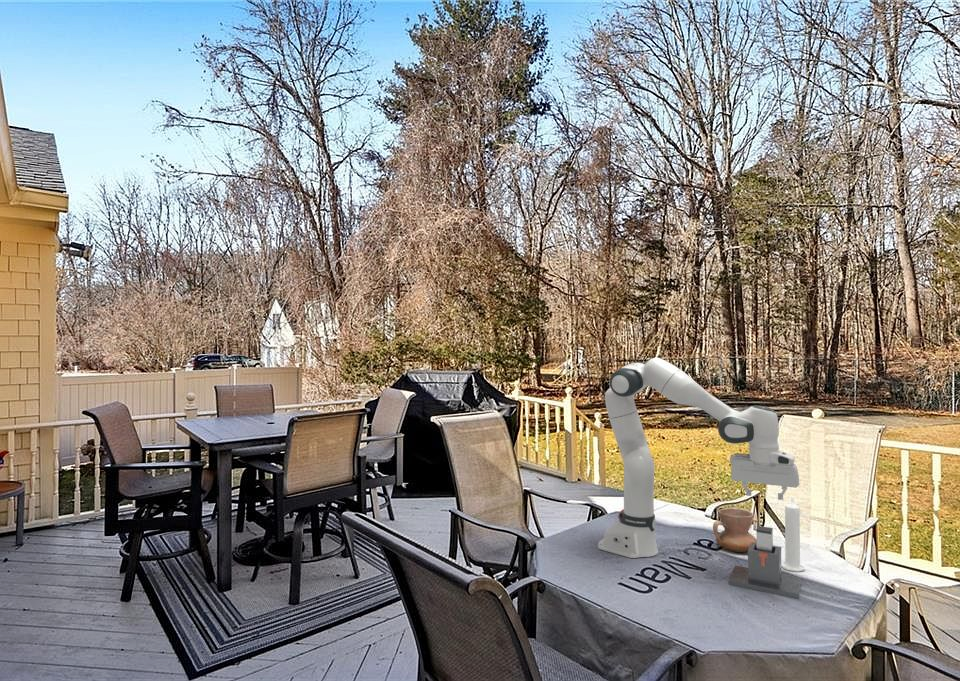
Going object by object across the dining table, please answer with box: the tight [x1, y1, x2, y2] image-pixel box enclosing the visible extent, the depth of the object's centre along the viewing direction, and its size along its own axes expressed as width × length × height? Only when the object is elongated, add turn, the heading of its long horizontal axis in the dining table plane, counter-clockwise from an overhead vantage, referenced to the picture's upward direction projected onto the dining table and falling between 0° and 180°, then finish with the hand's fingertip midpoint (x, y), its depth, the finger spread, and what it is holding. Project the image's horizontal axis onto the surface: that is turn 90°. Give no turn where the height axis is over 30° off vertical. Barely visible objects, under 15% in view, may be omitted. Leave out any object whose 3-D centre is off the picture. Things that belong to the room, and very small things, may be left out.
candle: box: [781, 496, 805, 573], centre depth 199 cm, size 7×7×25 cm
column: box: [755, 525, 774, 553], centre depth 187 cm, size 5×5×16 cm
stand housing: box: [728, 542, 802, 599], centre depth 187 cm, size 20×14×12 cm
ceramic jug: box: [712, 507, 758, 553], centre depth 218 cm, size 18×14×14 cm
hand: (764, 497), depth 187 cm, fingers open, 8 cm apart
